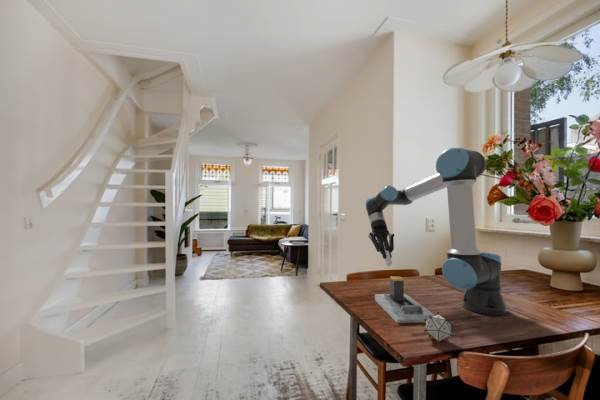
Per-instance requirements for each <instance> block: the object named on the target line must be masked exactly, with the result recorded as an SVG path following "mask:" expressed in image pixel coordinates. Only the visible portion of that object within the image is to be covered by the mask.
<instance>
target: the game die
mask: <svg viewBox="0 0 600 400" xmlns="http://www.w3.org/2000/svg"><path fill="white" fill-rule="evenodd" d="M429 317H430V318H429V319H427V320H426V319H424V321H426V322H425V329H423V332H427V334H428V338H429V337H432V338H433V339H434V340H435V341H437V345H440V342H442V341H443V340H445V341H448V340H449V339H448V338H450V337H452V338H455V335H454V334H452V326H453V325H454V324H453V323H450V322H449V318H448V317H446V318H445V317H444V316H442V315H441V314H440V312H439V311H437V314H434V316H432V317H431V315H429Z"/></svg>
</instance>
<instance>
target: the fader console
mask: <svg viewBox="0 0 600 400" xmlns="http://www.w3.org/2000/svg"><path fill="white" fill-rule="evenodd" d="M389 295H390V293H386V292H384V293H379V294H378V293H377V294H376V293H375V294H374V300H375V302H376V303H377V304H378V305H379V306H380V307H381V308H382V309H383V310H384V311H385V312H386V313H387V314H388V315H389V316H390V317H391V318H392V320H394V321H395V322H396V323H397V324H410V323H419V324H420V323H426V321H424V319H426V320H427V319H429V318H430V317H429V315H431V317H432V316H434V315H435V314H434V313H433V312H431V310H429V309H427V308H426V307H424V306H423V305H421V304H420V303H419V302H417V301H416V300H415V299H414V298H412V297H411V296H409V295H408V294H407V293H404V298H405V301H394V300H393V299H392V298H391V297H390V296H389Z"/></svg>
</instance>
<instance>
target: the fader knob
mask: <svg viewBox="0 0 600 400" xmlns="http://www.w3.org/2000/svg"><path fill="white" fill-rule="evenodd" d="M389 278H390V280H389V281H390V282H389V283H390V289H389V291H390V293H389V294H390V295H389V296H390V297H391V298H392V299H393V300H394V301H405V298H404V294H405V293H404V285H405V283H404V281H405V278H403V277H402V276H399V275H397V276H396V275H395V276H392V275H391V276H389Z"/></svg>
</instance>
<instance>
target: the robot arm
mask: <svg viewBox="0 0 600 400" xmlns="http://www.w3.org/2000/svg"><path fill="white" fill-rule="evenodd" d="M486 169H487V160H486V157H485V156H484V155H483V154H482V153H481V152H479V151H477V150H472V149H471V150H470V149H465V148H463V147H450V148H449V147H448V148H446V149H445V150H444V151H442V152H441V153H440V154H439V156H438V157H437V159H436V162H435V170H436V172H437V173H436V174H433V175H431V176H429V177H426V178H424V179H422V180H421V181H418V182H417V183H414V184H412V185H410V186H407V187H405V188H403V189H401V190H399V189H398V190H397V188H396V187H394V186H392V185H385V186H384V187H383V188H382V189H381V190H380V191H379V192H378V194H376V195H375V196H371V197H370V198H367V199H366V201H365V209H366V212H367V215H368V220H369V224H370V228H371V232H369V234H368V238H369V239H370V240H371V242H372V244H373V246H374V248H375V250H376V252H378V253H380V255H382V258H383V260H385V263H386V266H387V267H391V266H392V264H393V262H392V253H393V251H394V249H395V246H394V245H395V243H394V237H395V234H394V233H390V231H389V229H388V226H387V222H386V218H385V216H384V213H383V212H384V211H383V210H385V209H386V208H387V207H388V206H390V205H392V206H393V205H394V206H395V205H396V206H399V205H400V206H402V205H403V206H408V205H410V204H412V203H413V202H414V201H416V200H418V199H421V198H423V197H426V196H429V195H431V194H434V193H435V192H439V191H441V190H443V189H446V191H447V206H448V223H449V238H450V248H449V249H448V250H447V251H446V258H447V259H446V260H445V261H444V262H443V263H442V266H441V267H442V268H441V271H442V275H443V278H444V279H445V281H446V282H447V283H448V284H449V285H450V286H452V287H454V288H455V289H459V290H465V292H464V294H463V296H462V302H461V303H462V304H461V306H462V307H463V308H464V309H466V310H469V311H472V312H474V313H477V314H483V315H489V316H503V315H506V314H507V305H506V302H505V300H504V297H503V295H502V261H501V260H502V258H501V256H500V254H498V253H491V252H486V251H485V252H484V251H480V250H479V249H478V248H477V240H476V239H477V238H476V236H477V235H476V222H475V210H474V209H475V208H474V192H473V186H474V184H475V183H476V182H477V179H478V178H479V177H481V176H482V175H483V174H484V172H485V171H486Z"/></svg>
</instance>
